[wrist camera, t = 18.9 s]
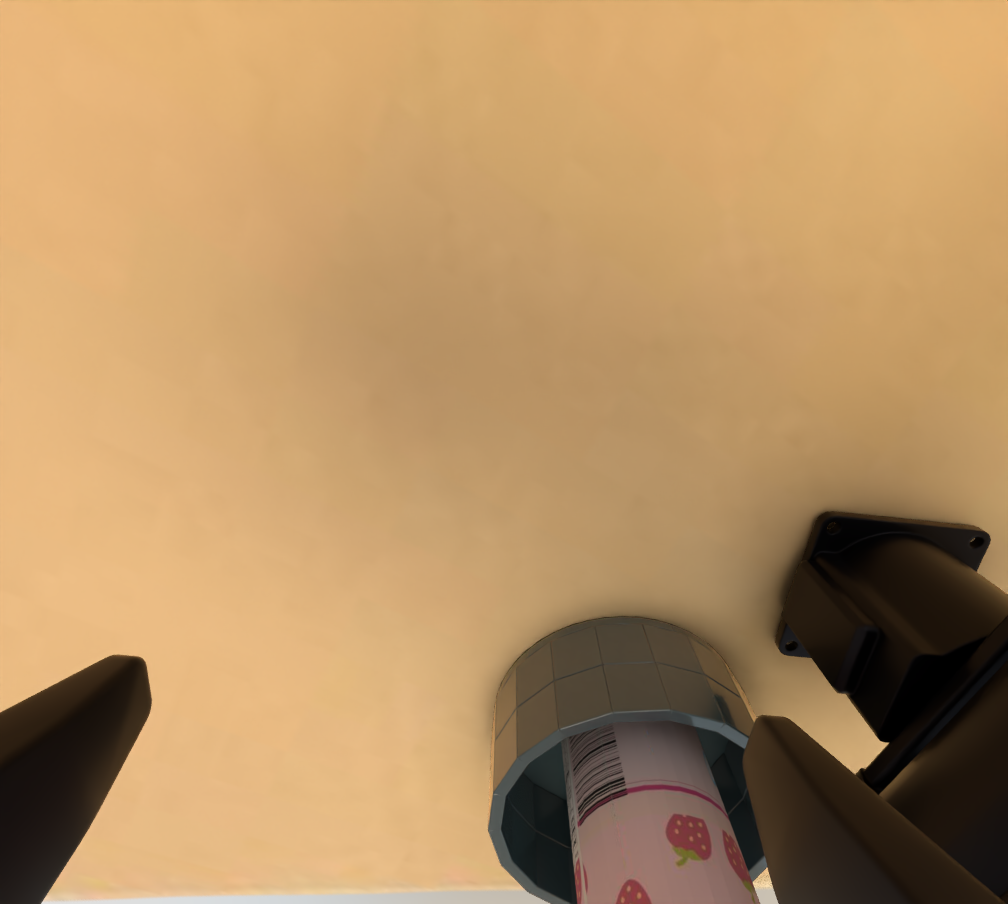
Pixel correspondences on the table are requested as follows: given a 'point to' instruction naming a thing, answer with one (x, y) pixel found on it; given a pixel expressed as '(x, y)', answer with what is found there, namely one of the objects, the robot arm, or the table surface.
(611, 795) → the beverage can
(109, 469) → the table surface
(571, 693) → the dark round bowl
